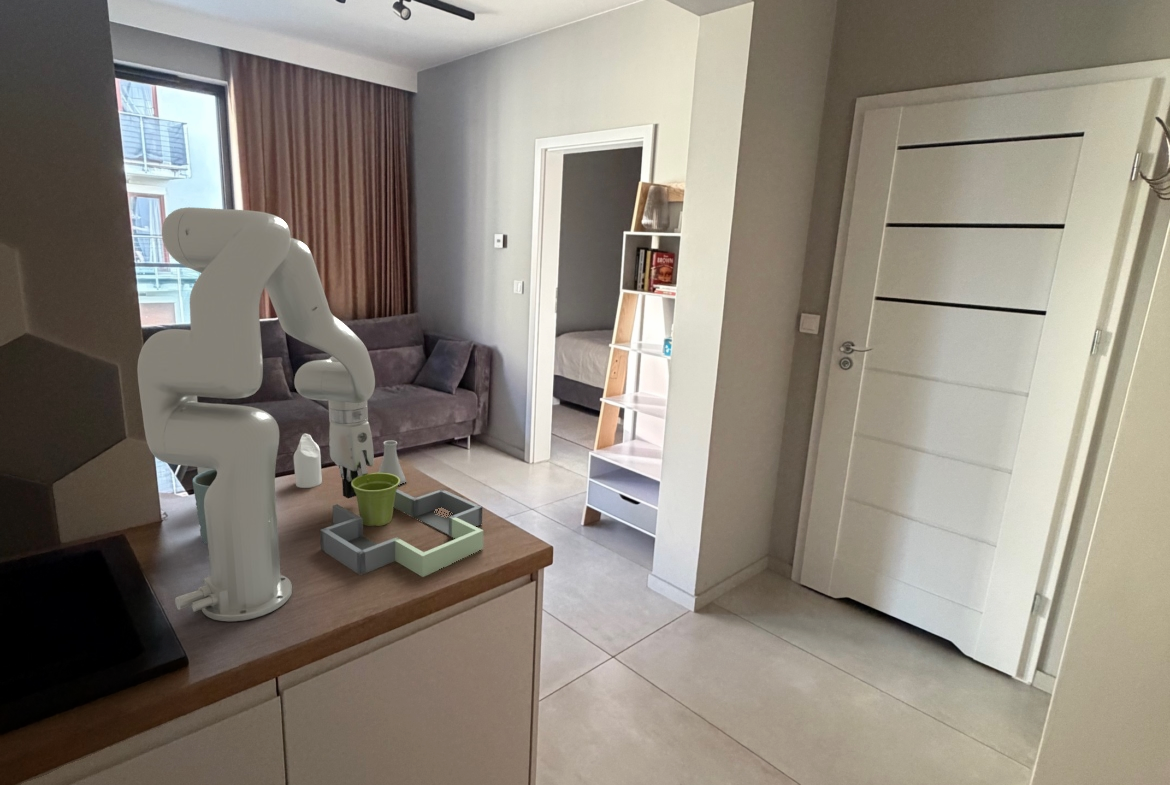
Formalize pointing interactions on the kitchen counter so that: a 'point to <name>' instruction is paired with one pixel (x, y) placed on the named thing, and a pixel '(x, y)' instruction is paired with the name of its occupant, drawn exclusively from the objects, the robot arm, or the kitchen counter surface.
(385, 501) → the plant pot
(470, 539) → the grey low walled frame
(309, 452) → the white broken column
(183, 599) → the robot arm
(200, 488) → the sage green cup
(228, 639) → the kitchen counter surface
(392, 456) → the flask
